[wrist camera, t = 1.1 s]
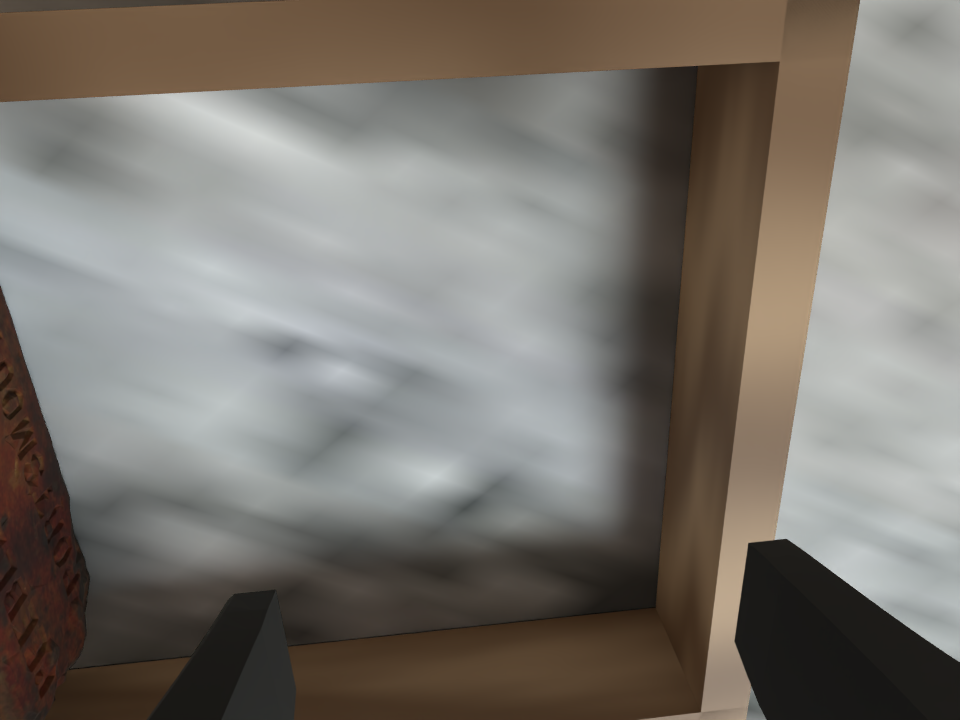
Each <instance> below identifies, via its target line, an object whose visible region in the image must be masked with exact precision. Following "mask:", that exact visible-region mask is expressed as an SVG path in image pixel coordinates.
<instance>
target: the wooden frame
mask: <svg viewBox="0 0 960 720" xmlns="http://www.w3.org/2000/svg"><path fill="white" fill-rule="evenodd" d="M859 4H860V0H282V1H259V2H236V3H214V4H191V5H168V6H145V7H122V8H99V9H76V10H53V11H30V12H7V13H0V102H9V101H29V100H48V99H67V98H86V97H105V96H125V95H144V94H163V93H182V92H202V91H221V90H240V89H259V88H278V87H298V86H317V85H336V84H355V83H374V82H394V81H413V80H432V79H451V78H471V77H490V76H509V75H528V74H547V73H567V72H586V71H605V70H624V69H643V68H663V67H682V66H698V71H697V84H696V97H695V110H694V123H693V135H692V148H691V161H690V174H689V187H688V200H687V212H686V225H685V238H684V251H683V264H682V276H681V289H680V302H679V315H678V328H677V341H676V353H675V366H674V379H673V392H672V405H671V417H670V430H669V443H668V456H667V469H666V482H665V494H664V507H663V520H662V533H661V546H660V558H659V571H658V584H657V597H656V608H648V609H638V610H629V611H620V612H610V613H601V614H591V615H582V616H572V617H563V618H554V619H544V620H535V621H525V622H516V623H507V624H497V625H488V626H478V627H469V628H459V629H450V630H441V631H431V632H422V633H412V634H403V635H393V636H384V637H375V638H365V639H356V640H346V641H337V642H328V643H318V644H309V645H299V646H290V647H288V651H289V656H290V661H291V666H292V671H293V676H294V681H295V686H296V699H295V713H294V720H746V716H747V710H748V703H749V697H750V691H751V684H750V681H749V679H748V676H747V674H746V671H745V668H744V666H743V663H742V660H741V658H740V655H739V652H738V650H737V647H736V644H735V642H734V640H735V633H736V626H737V619H738V612H739V605H740V598H741V591H742V584H743V577H744V570H745V563H746V556H747V549H748V543H751V542H761V541H771V540H775V533H776V527H777V521H778V514H779V508H780V502H781V495H782V489H783V483H784V477H785V470H786V464H787V458H788V451H789V445H790V439H791V432H792V426H793V420H794V413H795V407H796V401H797V395H798V388H799V382H800V376H801V369H802V363H803V357H804V350H805V344H806V338H807V332H808V325H809V319H810V313H811V306H812V300H813V294H814V287H815V281H816V275H817V269H818V262H819V256H820V250H821V243H822V237H823V231H824V224H825V218H826V212H827V206H828V199H829V193H830V187H831V180H832V174H833V168H834V161H835V155H836V149H837V143H838V136H839V130H840V124H841V117H842V111H843V105H844V98H845V92H846V86H847V80H848V73H849V67H850V61H851V54H852V48H853V42H854V35H855V29H856V23H857V17H858V10H859ZM190 658H191V657H186V658H177V659H167V660H158V661H149V662H139V663H130V664H120V665H111V666H101V667H92V668H83V669H73V670H67V674H66V681H65V682H64V683H63V684H61V685H60V686H59V687H58V688H57V689H56V692H55V701H54V702H53V704H52V706H51V708H50V710H49V712H48V714H47V715H46V717H45V719H44V720H147V718H148V717H149V716H150V714H151V713H152V711H153V710H154V709H155V707H156V706H157V704H158V703H159V702H160V700H161V699H162V698H163V696H164V695H165V693H166V692H167V691H168V689H169V688H170V686H171V685H172V684H173V682H174V681H175V679H176V678H177V677H178V675H179V674H180V672H181V671H182V669H183V668H184V667H185V665H186V664H187V662H188V661H189V659H190Z"/></svg>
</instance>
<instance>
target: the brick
mask: <svg viewBox="0 0 960 720" xmlns="http://www.w3.org/2000/svg"><path fill="white" fill-rule="evenodd" d="M89 582H90V576H89V573H88V572H87V570H86V568H85V559H84V557H83V554H82V552H81V551H80V548H79V545H78V543H77V540H76V538H75V536H74V532H73V525H72V520H71V514H70V497H69V494H68V492H67V489H66V486H65V484H64V481H63V478H62V476H61V472H60V468H59V464H58V461H57V459H56V456H55V454H54V450H53V446H52V442H51V438H50V435H49V432H48V429H47V427H46V424H45V421H44V418H43V416H42V413H41V409H40V406H39V403H38V400H37V396H36V393H35V390H34V387H33V384H32V381H31V378H30V375H29V372H28V369H27V366H26V363H25V360H24V357H23V354H22V351H21V347H20V344H19V341H18V338H17V334H16V331H15V328H14V324H13V321H12V318H11V315H10V313H9V310H8V307H7V305H6V302H5V299H4V296H3V293H2V290H1V286H0V720H44V719H45V717H46V715H47V714H48V712H49V710H50V708H51V706H52V704H53V702H54V701H55V692H56V689H57V688H58V687H59V686H60V685H61V684H63V683H64V682H65V681H66V674H67V670H68V669H69V668H70V667H72V666H73V665H74V663H75V662H76V660H77V659H78V658H79V656H80V654H81V652H82V650H83V646H84V641H85V637H86V630H87V629H86V619H85V610H86V605H87V595H88V590H89Z"/></svg>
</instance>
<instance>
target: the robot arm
mask: <svg viewBox="0 0 960 720" xmlns="http://www.w3.org/2000/svg"><path fill="white" fill-rule="evenodd" d="M734 642H735V644H736V647H737V650H738V652H739V655H740V658H741V660H742V663H743V666H744V668H745V671H746V674H747V676H748V679H749V681H750V684H751V686H752V689H753V691H754V694H755V696H756V698H757V701H758V703H759V706H760V708H761V710H762V711H763V713H764V715H765V717H766V719H767V720H960V662H958V661H957V660H955V659H954V658H952V657H951V656H949V655H947V654H946V653H945V652H943V651H942V650H940V649H939V648H937V647H936V646H934V645H933V644H931V643H930V642H928V641H927V640H925V639H924V638H922V637H921V636H920V635H918V634H917V633H915V632H914V631H912V630H911V629H910V628H908V627H907V626H905V625H904V624H903V623H901V622H900V621H898V620H897V619H896V618H894V617H893V616H891V615H890V614H889V613H887V612H886V611H884V610H883V609H882V608H880V607H879V606H878V605H876V604H875V603H873V602H872V601H871V600H869V599H868V598H867V597H865V596H864V595H862V594H861V593H860V592H858V591H857V590H856V589H854V588H853V587H852V586H850V585H849V584H848V583H846V582H845V581H844V580H842V579H841V578H840V577H838V576H837V575H836V574H834V573H833V572H832V571H830V570H829V569H827V568H826V567H825V566H823V565H822V564H821V563H819V562H818V561H817V560H815V559H814V558H813V557H811V556H810V555H809V554H807V553H806V552H804V551H803V550H802V549H800V548H799V547H797V546H796V545H795V544H793V543H792V542H790V541H789V540H787V539H781V540H771V541H761V542H751V543H748V549H747V556H746V563H745V570H744V577H743V584H742V591H741V598H740V605H739V612H738V619H737V626H736V633H735V640H734ZM295 699H296V686H295V681H294V676H293V671H292V666H291V661H290V656H289V651H288V647H287V642H286V637H285V632H284V627H283V622H282V617H281V612H280V608H279V603H278V598H277V593H276V590H270V591H260V592H250V593H240V594H234V595H233V596H232V597H231V598H230V599H229V600H228V601H227V603H226V604H225V606H224V607H223V609H222V611H221V612H220V614H219V615H218V617H217V618H216V620H215V621H214V623H213V624H212V626H211V628H210V629H209V631H208V632H207V634H206V635H205V637H204V638H203V640H202V641H201V643H200V644H199V646H198V647H197V649H196V650H195V652H194V653H193V655H192V656H191V658H190V659H189V661H188V662H187V664H186V665H185V667H184V668H183V669H182V671H181V672H180V674H179V675H178V677H177V678H176V679H175V681H174V682H173V684H172V685H171V686H170V688H169V689H168V691H167V692H166V693H165V695H164V696H163V698H162V699H161V700H160V702H159V703H158V704H157V706H156V707H155V709H154V710H153V711H152V713H151V714H150V716H149V717H148V718H147V720H294V713H295Z"/></svg>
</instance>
